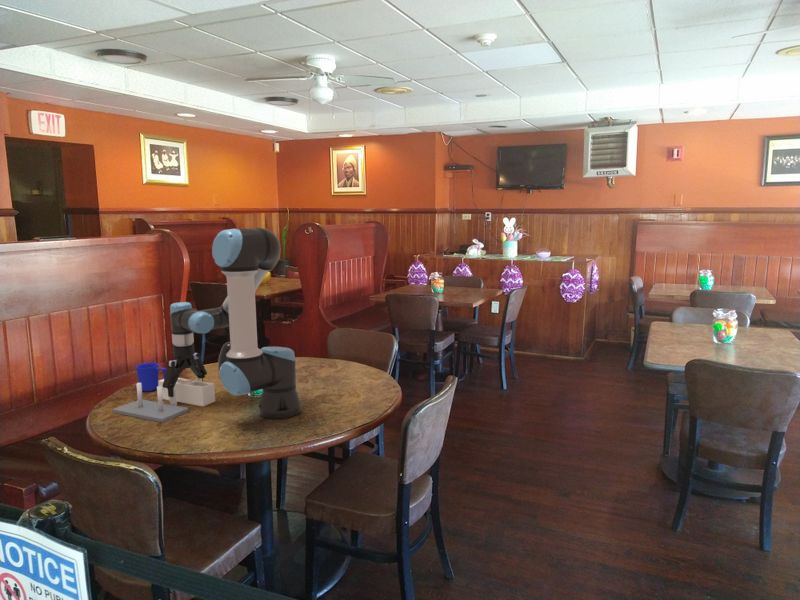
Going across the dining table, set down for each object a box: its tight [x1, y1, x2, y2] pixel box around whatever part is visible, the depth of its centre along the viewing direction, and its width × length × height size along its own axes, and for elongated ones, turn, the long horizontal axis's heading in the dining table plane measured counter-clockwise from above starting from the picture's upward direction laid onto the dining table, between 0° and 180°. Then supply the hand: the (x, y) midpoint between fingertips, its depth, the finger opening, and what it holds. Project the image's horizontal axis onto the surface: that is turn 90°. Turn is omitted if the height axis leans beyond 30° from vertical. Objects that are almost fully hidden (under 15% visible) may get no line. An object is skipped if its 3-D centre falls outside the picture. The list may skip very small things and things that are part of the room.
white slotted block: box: [158, 377, 216, 407], centre depth 215 cm, size 22×6×7 cm, turn 65°
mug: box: [135, 362, 167, 392], centre depth 228 cm, size 8×12×10 cm
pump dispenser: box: [217, 341, 231, 371], centre depth 245 cm, size 10×10×15 cm
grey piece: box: [112, 382, 190, 423], centre depth 202 cm, size 24×12×10 cm, turn 65°
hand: (186, 399), depth 216 cm, fingers open, 12 cm apart
